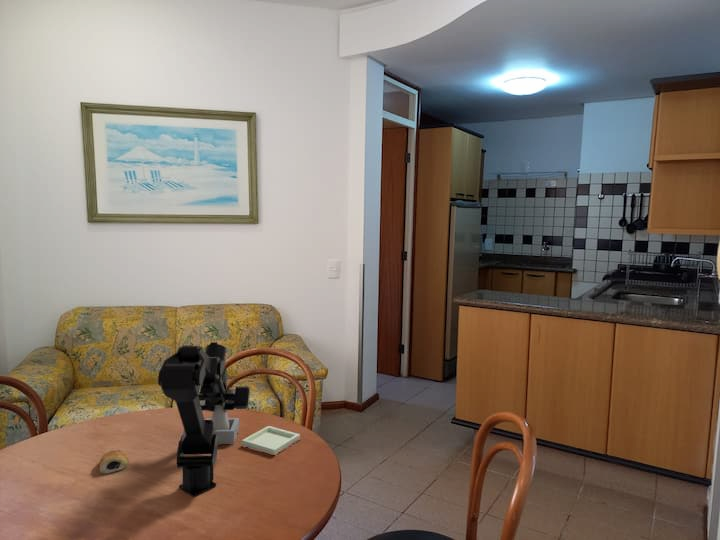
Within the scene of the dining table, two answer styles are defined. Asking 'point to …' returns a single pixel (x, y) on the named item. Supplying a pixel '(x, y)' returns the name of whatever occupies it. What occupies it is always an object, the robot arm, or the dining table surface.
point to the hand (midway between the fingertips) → (220, 410)
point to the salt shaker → (220, 418)
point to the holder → (228, 432)
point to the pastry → (113, 462)
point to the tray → (270, 440)
